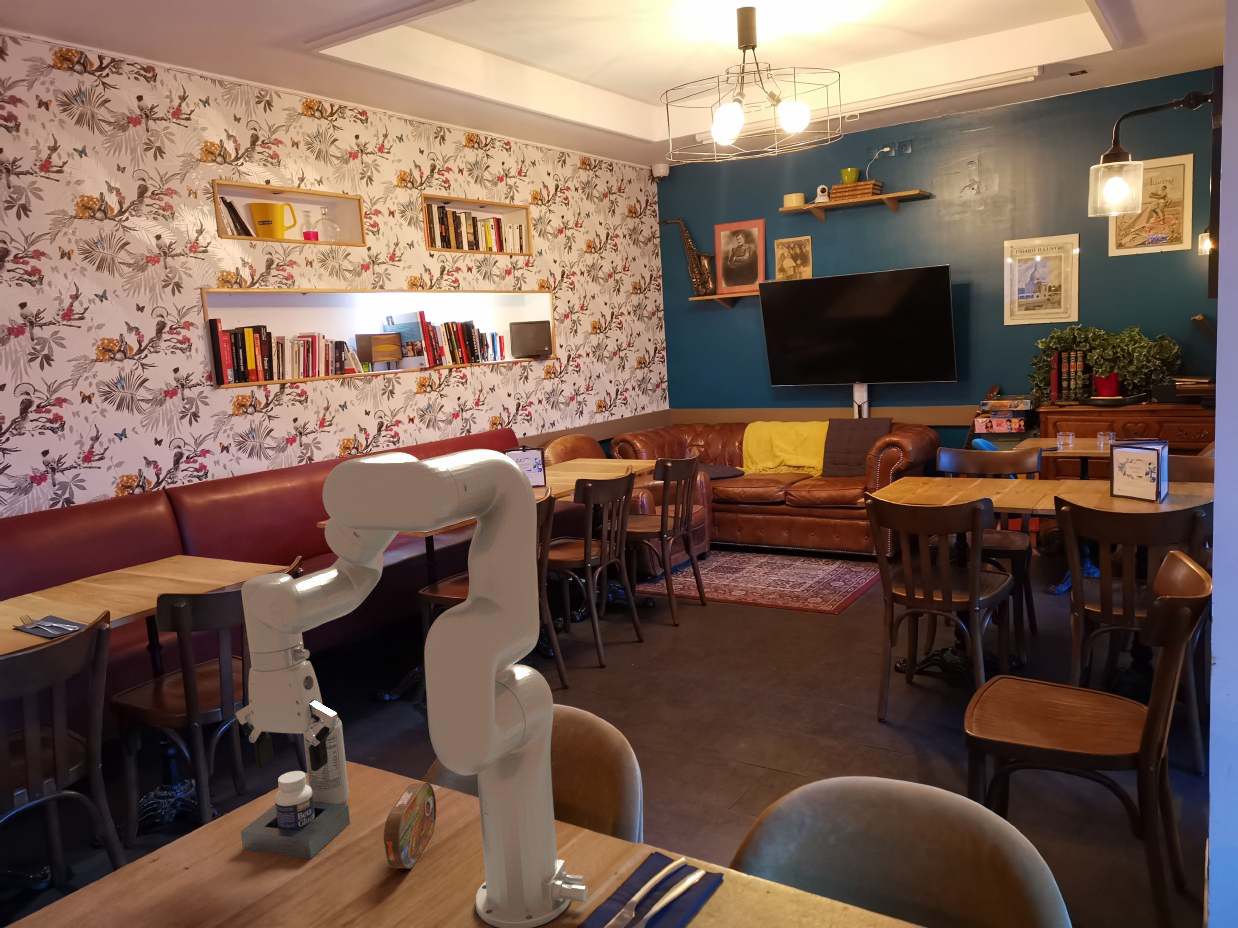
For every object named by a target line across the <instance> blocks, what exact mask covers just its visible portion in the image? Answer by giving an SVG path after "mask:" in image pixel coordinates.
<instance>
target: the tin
mask: <svg viewBox="0 0 1238 928" xmlns="http://www.w3.org/2000/svg"><path fill="white" fill-rule="evenodd" d="M436 800H437V799H436V793H435V791H434V787H433V786H432V785H431V783H430V782H427V781H425V782H423V783H422V782H420V783H412V784H409V785H408V786H407V787H406V788H405V791H404V792H403V793H402V795H400V798H399V799H398V800H397V801H396V803H395V805H394V806H393V807H392V809H391V810H390V812H389V813H388V816H387V817H386V821H385V823H384V828H383V830H384V831H383V845H384V849H385V856H386V862H387V864H388V866H389V867H390V868H392V869H408V870H409V869H412V868H413V867H414V866H415V865H416V863H417V861H418V860H419V858H420V856H421V855H422V853H423V851H424V850H425V847H426V846H427V844H428V843H429V841H430V839H431V838H432V836H433V833H434V831H435V826H436V820H437V819H436V818H437V803H436V802H437V801H436Z"/></svg>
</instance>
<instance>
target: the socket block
mask: <svg viewBox="0 0 1238 928" xmlns="http://www.w3.org/2000/svg"><path fill="white" fill-rule="evenodd" d="M313 804H314V814H315V819H314V820H313V821H312V822H311V823H309V824H308V825H307V826H306V827H305V828H304V829H302V830H301V831H295V830H286V829H278V822H277V813H276V805H275V804H273V805H272V806H271V807H270V808H269V809H267V810H266V811H265V812H264V813H262V814H261V815H260V816H258V817H257V818H256V819H255V820H253V821H252V822H251V823H249V824H247V826H246V827H244V828H243V829H241V830H240V836H241V843H242V846H241V847H242V850H243V851H248V852H256V853H264V854H273V855H280V856H287V857H297V858H303V859H312V858H313V857H315V855H317V854H318V853H319V852H320V851H321V850H322V849H324V847H326V846H327V845H328V844H329V843H330V842H331V841H332V840H334V839H335V837H336V836H338V835H339V834H340V833H341V832H342V831H343V830H344V829H345V828H346V827H347V826H348V825H349V824H351V819H350V810H349V808H350V807H349V804H345V803H344V804H335V803H325V802H316V801H313Z"/></svg>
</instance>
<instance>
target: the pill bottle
mask: <svg viewBox="0 0 1238 928" xmlns="http://www.w3.org/2000/svg"><path fill="white" fill-rule="evenodd" d="M306 776H307V774H306V772H304V771H301V770H293V771H288V772H285V773H283V774H281V775H280V776H279V777H278V778H277V782H278V783H277V785H278V791H277V792H276V794H275V795H274V800H275V801H274V802H275V804H274V805H276V813H277V822H278V829H286V830H295V831H301V830H302V829H304V828H305V827H306V826H307V825H308V824H309V823H311V822H312V821H313V820H314V819H315V814H314V804H313V794H312V789H311V787H310V786H309V784H307V777H306Z"/></svg>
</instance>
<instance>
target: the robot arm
mask: <svg viewBox="0 0 1238 928" xmlns="http://www.w3.org/2000/svg"><path fill="white" fill-rule="evenodd" d="M532 485H533V484H532V482H531V481H530V479H529V477H528V476H527V473H526V472H525V471H524V469H522V467H521V466H520V465H519V464H518V463H517V461H515V460H514V459H512V458H511V457H509V456H508V455H506V454H505V453H503V452H499V451H497V450H492V449H487V448H486V449H485V448H473V449H467V450H459V451H456V452H451V453H447V454H443V455H438V456H433V457H428V458H425V459H424V458H423V459H421V460H420V459H419V458H417V457H415V456H414V455H412V454H409V453H407V452H401V451H388V452H382V453H377V454H371V455H366V456H361V457H355V458H351V459H348V460H344V461H342V462H341V463H339V464H337V465H336V466H335V467H333V469H331V470H330V472H329V474H328V475H327V477H326V478H325V481H324V483H323V487H322V502H323V505H324V509H325V511H326V513H327V514H328V516H329V517H330V518H329V519H328V521H327V522H326V524H325V526H324V527H325V528H324V538H325V541H326V543H327V545H328V547H329V548H330V550H331V551H332V552H333V553H334V554H335V556H337V557H338V558H337V560H336V561H335V562H334V563H333V564H332V565H331V566H330V567H327V568H325V569H321V570H317V571H314V572H312V573H309V574H305V575H302V576H300V577H298V578H293V576H292V575H290V574H288V573H284V572H280V573H279V572H275V573H274V572H273V573H266V574H261V575H257V576H254V577H251V578H249V579H247V580H245V582H243V584H242V586H241V591H240V592H241V599H242V606H243V607H242V608H243V613H244V622H245V628H246V637H247V642H248V649H249V655H250V657H249V658H250V663H251V664H250V665H251V668H249V674H248V705H246V706H244V707H243V708H241V709H239V710H237V711H236V713H235V717H236V718H237V720H238V722H239V724H240V725H241V729H242V731H243V732H244V733H245V734H246V735H248V741H249V742H250V743H253V748H254V754H255V761H256V767H257V768H258V769H259V768H260V769H262V768H263V767H265V766H266V765H268V764H269V763H271V762H272V761H273V760H275V755H274V754H275V753H274V746H273V741H272V735H271V734H268V733H280V734H281V733H282V734H302V735H303V734H304V735H305V737H306V738H307V739H308V740H309V741H310V742H311V744H312V745H310V746H309V755H310V763H311V770H312V771H317V770H319V769H320V768H321V767H323V766H324V765H325V764H327V762H328V755H327V747H326V739H327V738H328V737H329V735H330V733H331V732H332V731H333V730H334V725H335V722H336V719H337V717H338V713H337V712H336V711H335V710H333V711H332V709H330V708H328V707H326V706H325V705H323V701H322V695H321V691H320V686H319V683H318V678H317V676H316V674H315V673H316V672H315V669H314V667H313V665H312V662H311V661H310V660H307V659H309V658H310V655H311V653H310V651H309V649H306V648H304V647H305V646H304V640H303V634H302V633H304V632H306V631H309V630H311V629H314V628H317V627H319V626H320V625H323V624H325V623H328V622H330V621H333V620H336V619H338V618H341V617H344V616H346V615H347V614H350V613H352V612H353V611H354V610H356V609H357V608H358V607H359V606H360V605H361V604H362V603H363V602H364V601H365V599H366V598H367V597H368V596H369V594H370V593H371V592H372V591H373V589H375V587H376V586H377V584H378V582H379V581H380V580H381V577H382V573H383V569H384V554H383V553H384V552H385V550H386V549H387V548H388V547H389V546H390V544H391V543H392V541H393V540H394V539H395V537H397V535H398V534H399V532H402V533H404V532H405V533H424V532H430V531H431V532H432V531H435V530H439V529H442V528H445V527H448V526H451V525H455V524H457V523H461V522H463V521H466V520H468V519H473V518H475V519H476V522H477V523H476V527H475V530H474V533H473V536H472V539H471V542H470V545H469V550H468V559H467V567H468V576H469V578H468V582H469V583H468V585H469V586H468V595H467V598H466V600H464V601H463V602H461V603H459V604H457V605H455V606H453V607H451V608H449V609H446V610H445V611H443V613H441V614H440V615H439V616H438V617H437V618H436V619H435V620H434V622H433V623H432V625H431V626H430V628H429V630H428V633H427V636H426V638H425V644H424V653H423V654H424V674H425V690H426V708H427V723H428V731H429V738H430V742H431V744H432V745H431V746H432V748H433V750H434V753H435V755H436V758H438V760H439V761H440V763H441V764H442V765H443V766H444V768H446V769H447V770H449V771H450V772H452V773H454V774H456V775H460V776H473V775H477V790H478V791H477V792H478V794H477V795H478V805H479V815H480V816H479V817H480V819H479V820H480V829H481V841H482V842H481V843H482V853H483V855H482V856H483V864H484V865H483V866H484V876H485V881H484V882H483V883H482V884H481V885H480V887H479V888H478V889H477V892H476V894H475V910H476V912H477V915H478V916H479V917H480V919H481V920H482V921H484V922H485V923H487V924H489V925H491V926H493V927H496V928H534V927H538V926H542V925H544V924H547V923H549V922H551V921H552V920H555V919H556V918H558V917H559V916H560V915H561V914H562V913H563V912H564V911H565V910H566V909H567V907H569V904H570V902H572V901H573V902H579V903H586V902H587V899H588V897H589V896H588V895H589V887H588V886H587V885H585V882H586V878H585V877H586V876H584V875H581V874H579V875H578V874H569V872H567V871H566V865H565V864H566V862H565V860H564V859H558V853H557V839H556V837H557V836H556V825H555V824H556V823H555V812H554V811H555V810H554V798H553V797H554V795H553V781H552V765H551V761H552V760H551V747H552V746H551V744H552V743H551V741H552V731H553V720H554V700H553V699H554V698H553V694H552V690H551V688H550V685H549V683H548V682H547V680H546V678H545V677H544V676H543V674H542V673H540V672H539V671H538V670H537V669H535V668H533V667H531V666H528V665H525V664H517V662H518V661H520V660H522V659H523V658H525V657H526V656H527V655H528V654H530V653H531V652H532V651H533V649H534V648H535V647H536V645H537V643H538V640H539V636H540V609H539V608H540V607H539V587H538V586H539V583H538V581H539V580H538V565H537V526H538V525H537V521H538V520H537V519H538V516H537V515H538V513H537V511H538V510H537V500H536V495H535V491H534V488H533V486H532ZM515 663H516V664H515ZM334 711H335V712H336V713H335V712H334ZM322 720H323V721H324V724H323V726H322V725H321V724H320V722H321V721H322ZM309 723H310V724H309ZM312 728H313V729H314V730H315V731H316V733H317V735H316V734H315V733H314V732H313V731H312V730H311V729H312ZM304 735H303V736H304Z"/></svg>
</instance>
